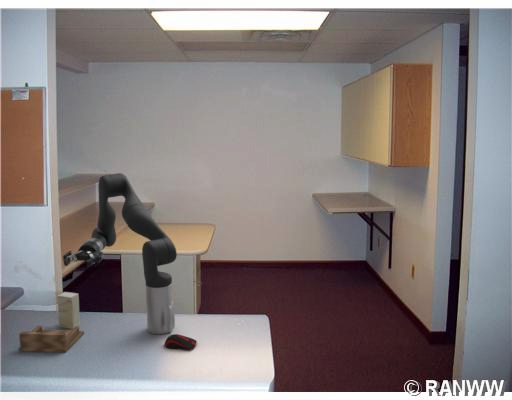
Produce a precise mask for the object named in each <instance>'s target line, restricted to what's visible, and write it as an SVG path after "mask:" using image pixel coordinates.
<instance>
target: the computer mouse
mask: <svg viewBox="0 0 512 400" xmlns="http://www.w3.org/2000/svg"><path fill="white" fill-rule="evenodd" d="M197 343H198V340H196V339H194V338H192V337H188V336H186V335H182V334H177V333H173V334H170V335H169V336H167V337H166V339H165V340H164V345H163V346H164V348H165V349H167V350H182V351H183V350H184V351H192V350H194V348H195V347H196V345H197Z"/></svg>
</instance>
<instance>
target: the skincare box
mask: <svg viewBox="0 0 512 400" xmlns="http://www.w3.org/2000/svg"><path fill="white" fill-rule="evenodd" d="M57 308H58V309H57V311H58V312H57V313H58V327H60V328H66V329H70V330H73V329H74V328H75V327H78V326H80V324H81V322H80V321H81V320H80V296H79V293H76V292H70V291H63V292H61V293H60V294H58V295H57Z"/></svg>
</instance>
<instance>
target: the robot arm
mask: <svg viewBox="0 0 512 400" xmlns="http://www.w3.org/2000/svg"><path fill="white" fill-rule="evenodd" d="M133 188H134V187H133V186H132V185H131V182H130V181H129V179H128V177H127V176H126V175H125V174H124V173H122V172H121V173H120V172H119V173H118V172H117V173H111V174H104V175H102V176H100V177H99V181H98V207H99V208H98V219H97V226H96V227H95V228H93V230H92V231H91V232H92V233H91V236H90V238H89V239H87V240H86V241H85V242H84V243H82V245H81V246H80V247H79V248H78V250H77V251H76V252H72V250H69V251H67V252H66V253H65V254H64V255H62V260H63V261H62V262H63V265H64V267H68V266H69V265H70V264H71V263H77V262H83V261H84V262H86V267H88V268H89V267H91V266H93V264H96V263H97V264H100V263H101V262H102V260H103V259H104V253H103V252H102V251H103V250H104V249H105V248H106V247H107V248H109V247H112V246H114V245H115V243H116V241H117V232H116V228H115V227H116V226H115V224H116V217H117V216H116V215H117V213H116V211H115V209H114V208H113V206H112V205H111V204H110V202H109V199H110V198H117V197H123V198H124V202H123V205H122V210H121V216H122V218H123V222H125V224H126V225H127V227H128V228H129V229H130V230H131V231H132V232H134V233H136V234H137V235H139V236H142V237H144V238H146V239H148V241H145V242H144V243H143V244H142V249H141V251H142V252H141V253H142V256H141V257H142V266H143V276H144V280H145V281H144V282H145V302H146V304H145V305H146V323H147V324H146V326H147V328H146V329H147V332H149V333H150V334H154V335H163V334H169V333H172V331H174V328H175V326H176V318H175V301H173V278H172V275H171V274H170V273H168V272H164V271H159V270H158V267H160V266H164V265H169V264H172V263H173V262H175V261H176V259H177V257H178V253H177V248H176V246H175V244H174V242H173V241H172V239H171V238H170V237H169V235H168V234H167V233H166V232H165V231H164V230H162V228H161V227H160V226H159V224H157V222H156V220H155V219H154V218H153V217H152V215H151V213H150V212H149V210H148V209H147V208H146V206H145V205H144V204H143V202H142V201H141V200H140V198H139V197H138V195H137V193H136V192H135V190H134V189H133Z"/></svg>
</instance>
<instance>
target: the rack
mask: <svg viewBox="0 0 512 400" xmlns="http://www.w3.org/2000/svg"><path fill="white" fill-rule="evenodd" d="M18 334H19V335H18V336H19V346H18V350H24V351H23V352H25V351H26V352H42V353H44V352H46V353H67V352H68V351H69V350H71V348H72V347H73V346H74V345H75V344H76V342H78V341H79V340H80V339H81V337H83V336H84V334H85V331H84V330H80V327H78V326H77V327H75V328H73V329H70V330H65V329H64V330H63V329H43V325H37V326H36V327H34V328H33V329H32V330H31V331H20V332H19V333H18Z"/></svg>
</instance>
